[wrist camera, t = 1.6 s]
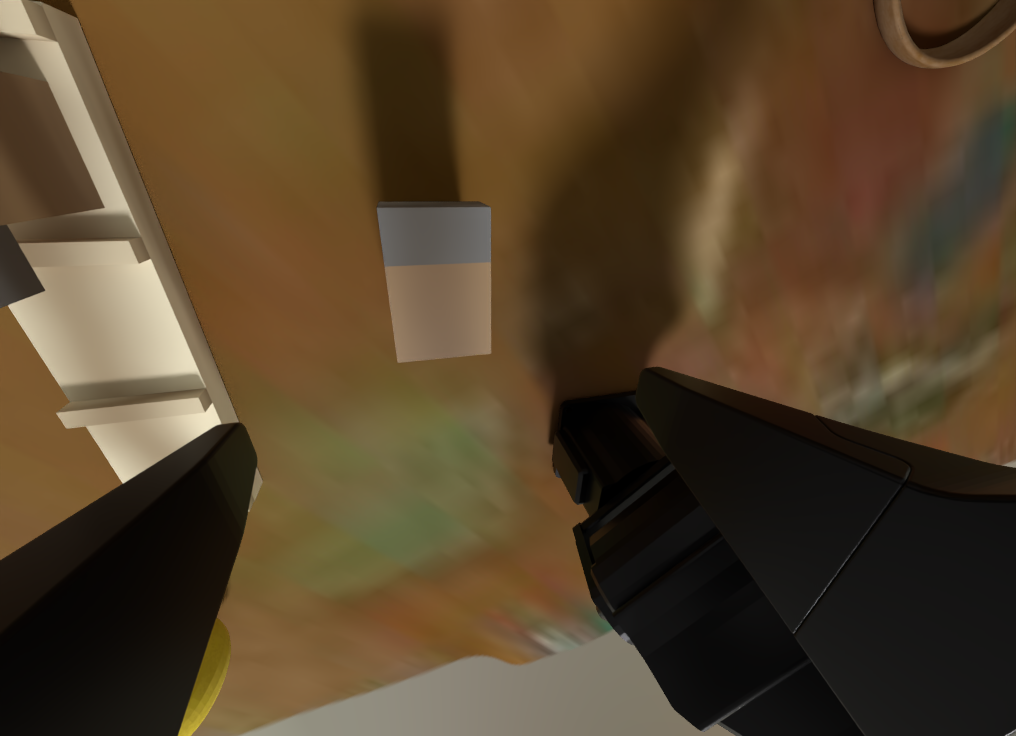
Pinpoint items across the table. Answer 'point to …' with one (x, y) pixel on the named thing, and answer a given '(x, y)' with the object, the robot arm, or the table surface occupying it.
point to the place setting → (985, 35)
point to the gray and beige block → (438, 277)
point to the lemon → (208, 679)
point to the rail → (94, 254)
